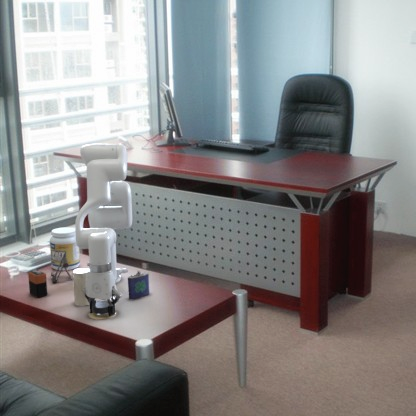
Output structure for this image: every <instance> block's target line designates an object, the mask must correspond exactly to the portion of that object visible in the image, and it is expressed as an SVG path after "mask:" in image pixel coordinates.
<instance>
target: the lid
mask: <svg viewBox="0 0 416 416" xmlns="http://www.w3.org/2000/svg"><path fill="white" fill-rule="evenodd" d="M108 306H109V303H108V301H107V300H98V301H96V302H95V303H93V304H92V312H93V313H96V314H105V313H108Z"/></svg>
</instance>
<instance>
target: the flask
mask: <svg viewBox="0 0 416 416" xmlns="http://www.w3.org/2000/svg"><path fill="white" fill-rule="evenodd" d="M149 275H150V274H149V272H143V273H142V272H141V271H140V270H137V273H136V274H134V275H132V274H130V275H129V276H128V277H127V289H128V291H127V292H128V300H129V301H133V300H134V301H135V300H138V299H141V298H142V299H143V298H145V297H148V296H149V295H150V277H149Z"/></svg>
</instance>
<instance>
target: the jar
mask: <svg viewBox="0 0 416 416" xmlns="http://www.w3.org/2000/svg"><path fill="white" fill-rule="evenodd" d="M88 270H90V268H75V269H73V271H72V274H73V275H72V281H73V282H72V283H73V299H74V300H73V301H74V305H75V306H77V307H86V306H90V305H89V302H88V300H87V298H86V297H85V295H84V294H83V292H82V290H83V289H84V288H86V279H87V273H88Z"/></svg>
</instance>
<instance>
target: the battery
mask: <svg viewBox="0 0 416 416" xmlns="http://www.w3.org/2000/svg"><path fill="white" fill-rule="evenodd" d="M27 275H28V276H27V277H28V288H29V289H28V290H29V294H30V295H32V296H34V297H35V298H36V299H37V298H42V297H46V296H48V281H47V273H45V272H43V271H42V270H39V269H37V268H33V269H32V270H31V271H28V274H27Z"/></svg>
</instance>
